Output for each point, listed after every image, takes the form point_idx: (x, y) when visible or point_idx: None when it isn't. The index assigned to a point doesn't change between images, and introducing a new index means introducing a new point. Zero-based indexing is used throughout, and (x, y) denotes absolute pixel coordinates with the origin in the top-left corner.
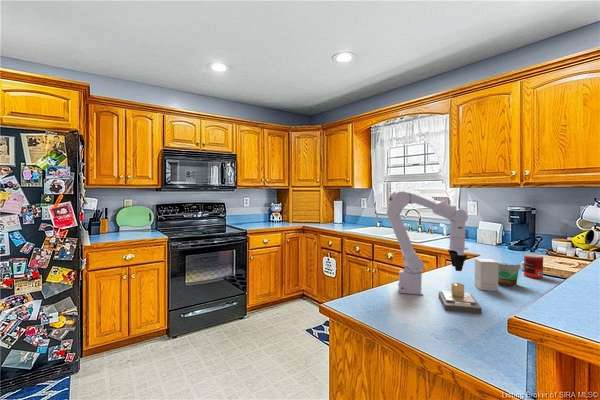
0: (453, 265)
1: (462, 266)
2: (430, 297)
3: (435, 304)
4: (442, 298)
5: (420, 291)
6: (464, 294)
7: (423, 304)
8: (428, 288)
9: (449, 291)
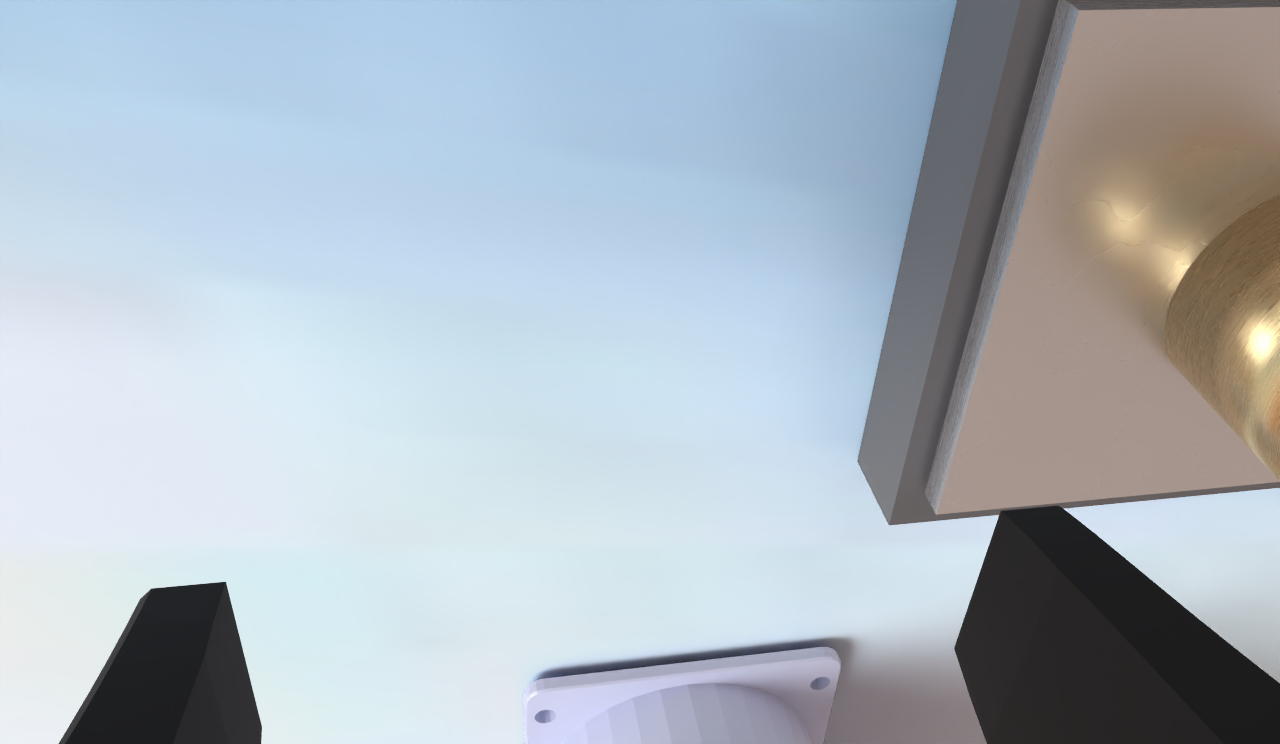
0: (246, 740)
1: (1230, 653)
2: (916, 558)
3: (1213, 504)
4: (1244, 485)
5: (761, 699)
6: (1204, 140)
7: (1197, 617)
8: (414, 591)
9: (1000, 399)
